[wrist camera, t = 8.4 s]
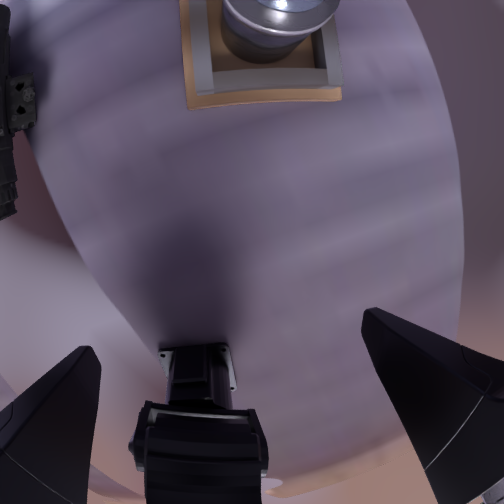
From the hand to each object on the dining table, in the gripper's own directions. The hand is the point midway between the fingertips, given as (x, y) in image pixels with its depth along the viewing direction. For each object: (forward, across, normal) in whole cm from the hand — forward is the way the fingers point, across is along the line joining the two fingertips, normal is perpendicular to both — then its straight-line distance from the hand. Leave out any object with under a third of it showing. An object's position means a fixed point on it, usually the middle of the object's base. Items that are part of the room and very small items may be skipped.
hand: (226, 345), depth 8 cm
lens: (+12, -4, -13) cm, 18 cm away
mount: (+13, -4, -13) cm, 19 cm away
